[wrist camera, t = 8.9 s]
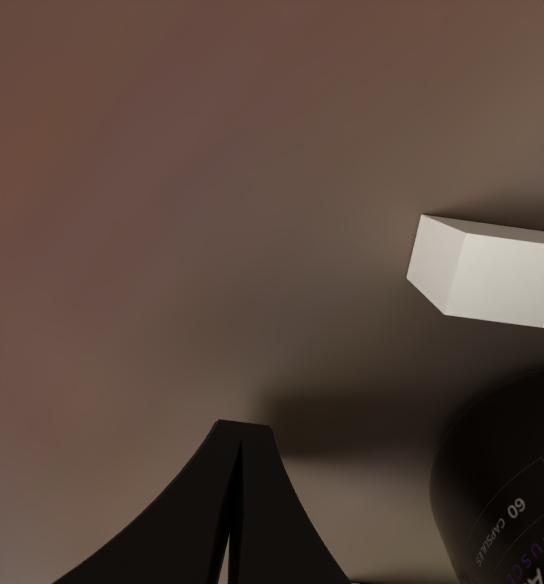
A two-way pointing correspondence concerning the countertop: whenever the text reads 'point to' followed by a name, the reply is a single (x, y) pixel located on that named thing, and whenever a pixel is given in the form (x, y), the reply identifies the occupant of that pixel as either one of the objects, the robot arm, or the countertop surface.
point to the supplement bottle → (494, 486)
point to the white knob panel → (480, 270)
